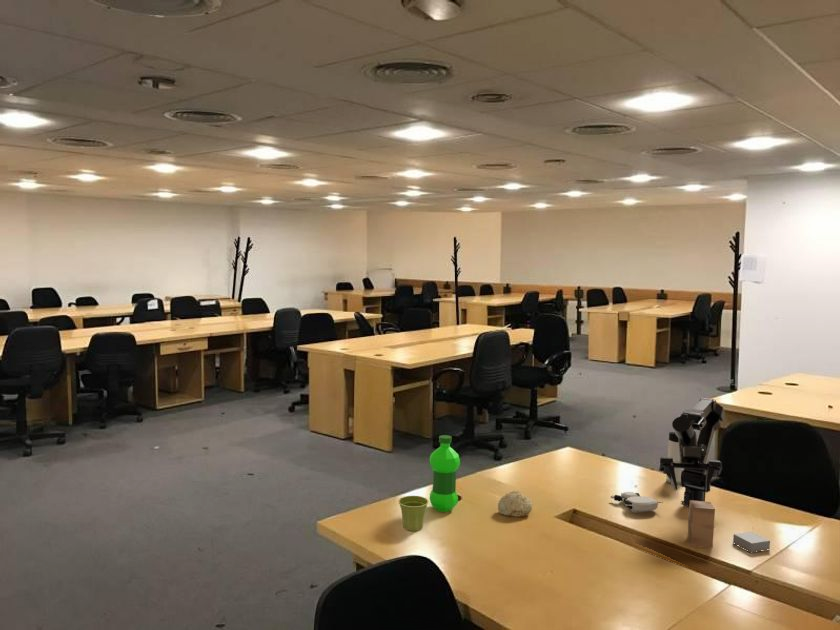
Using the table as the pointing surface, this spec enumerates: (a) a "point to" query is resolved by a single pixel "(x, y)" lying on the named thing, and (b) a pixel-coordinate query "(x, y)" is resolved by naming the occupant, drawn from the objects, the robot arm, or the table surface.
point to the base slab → (751, 541)
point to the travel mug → (674, 455)
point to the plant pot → (413, 512)
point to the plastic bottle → (444, 475)
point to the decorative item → (514, 504)
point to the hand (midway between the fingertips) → (691, 490)
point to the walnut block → (701, 523)
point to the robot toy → (637, 501)
